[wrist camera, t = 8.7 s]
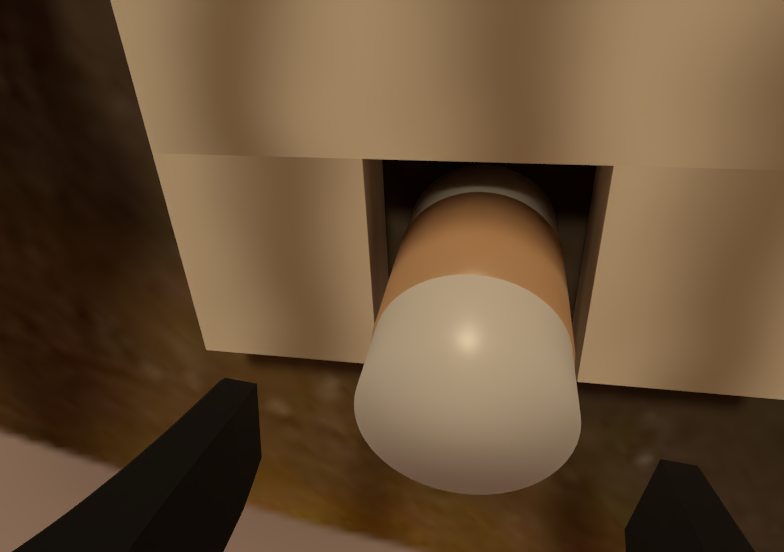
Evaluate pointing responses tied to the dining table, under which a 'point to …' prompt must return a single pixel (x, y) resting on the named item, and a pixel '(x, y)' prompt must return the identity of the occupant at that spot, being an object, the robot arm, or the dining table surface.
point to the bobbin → (474, 340)
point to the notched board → (476, 144)
